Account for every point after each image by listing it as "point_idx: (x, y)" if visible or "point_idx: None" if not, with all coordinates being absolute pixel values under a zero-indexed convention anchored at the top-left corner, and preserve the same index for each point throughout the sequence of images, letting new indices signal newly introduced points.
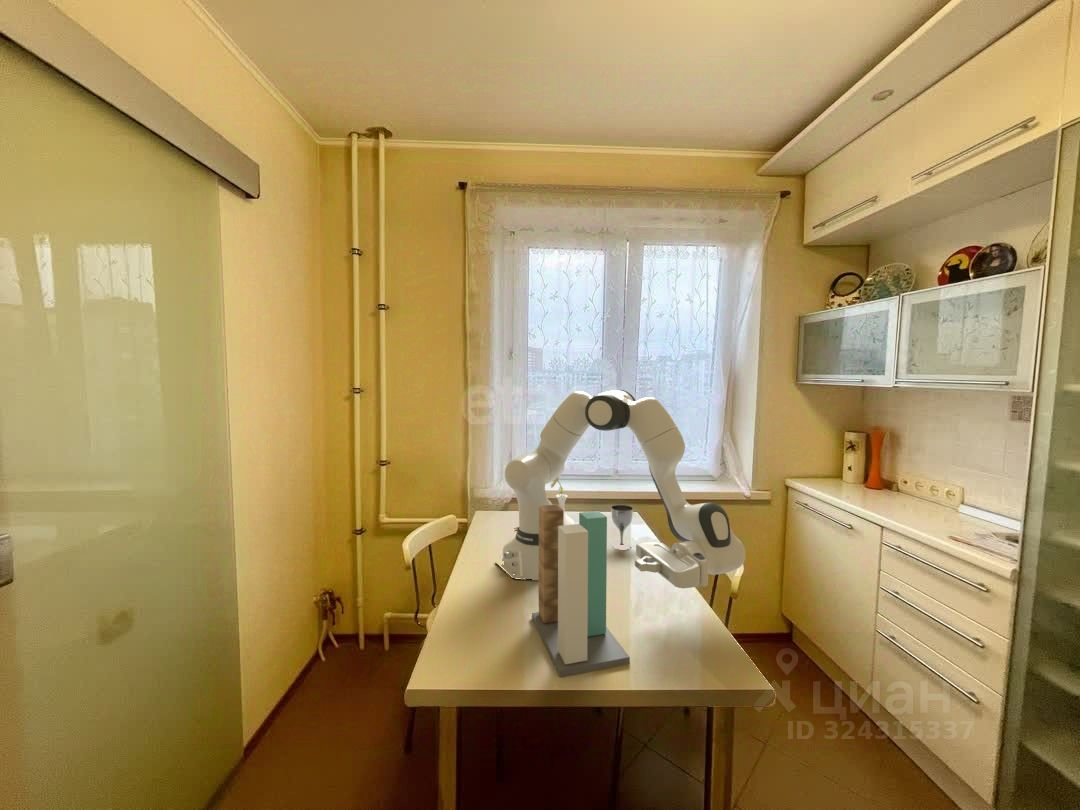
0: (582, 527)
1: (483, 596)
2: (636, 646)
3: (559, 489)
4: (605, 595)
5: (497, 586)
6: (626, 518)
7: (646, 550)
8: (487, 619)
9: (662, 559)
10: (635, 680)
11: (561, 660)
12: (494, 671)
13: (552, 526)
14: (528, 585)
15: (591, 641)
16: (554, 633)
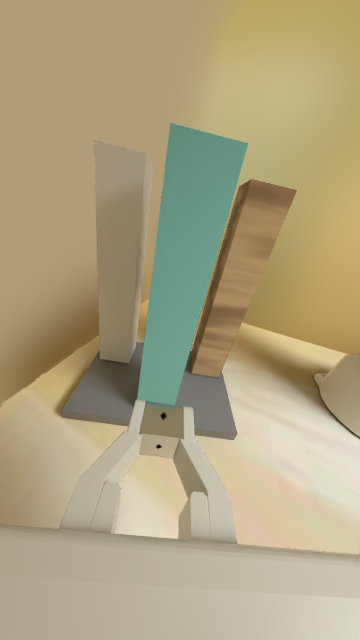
0: (122, 147)
1: (263, 343)
2: (87, 463)
3: None
4: (143, 355)
5: (289, 358)
6: None
7: (310, 561)
8: None
9: (42, 600)
10: (29, 403)
11: None
12: (145, 318)
13: (232, 220)
14: (303, 387)
15: (132, 382)
16: None
